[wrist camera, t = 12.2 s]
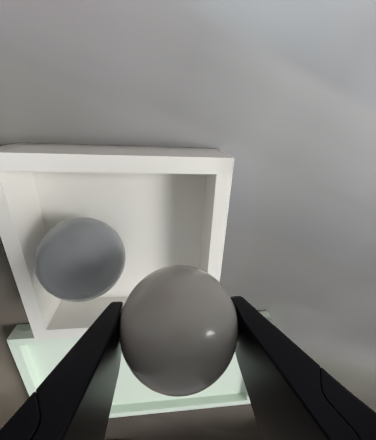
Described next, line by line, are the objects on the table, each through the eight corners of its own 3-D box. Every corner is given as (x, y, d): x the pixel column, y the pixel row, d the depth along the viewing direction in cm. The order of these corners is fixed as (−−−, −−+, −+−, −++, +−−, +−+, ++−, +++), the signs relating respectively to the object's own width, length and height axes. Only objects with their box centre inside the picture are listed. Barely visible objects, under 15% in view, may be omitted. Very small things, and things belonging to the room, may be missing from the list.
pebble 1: (130, 266, 14) (125, 316, 11) (59, 270, 13) (29, 326, 10) (125, 204, 13) (118, 239, 9) (45, 206, 12) (2, 245, 8)
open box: (205, 293, 16) (213, 329, 14) (57, 300, 15) (35, 340, 13) (218, 148, 12) (234, 157, 10) (17, 142, 11) (-29, 151, 8)
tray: (247, 389, 22) (252, 403, 21) (47, 408, 20) (41, 424, 19) (266, 310, 18) (273, 323, 17) (16, 324, 16) (6, 339, 15)
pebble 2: (217, 317, 11) (245, 418, 7) (130, 322, 10) (114, 433, 7) (226, 243, 9) (270, 326, 6) (123, 245, 9) (97, 337, 5)
